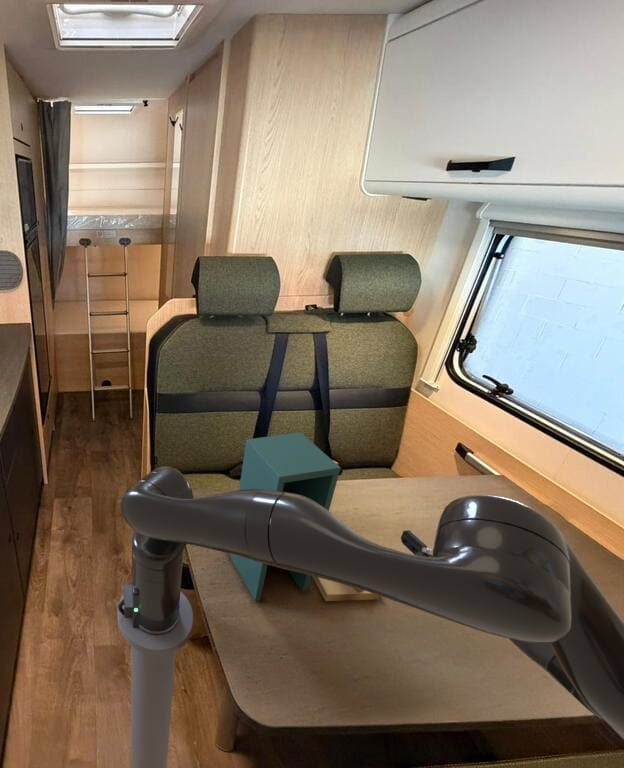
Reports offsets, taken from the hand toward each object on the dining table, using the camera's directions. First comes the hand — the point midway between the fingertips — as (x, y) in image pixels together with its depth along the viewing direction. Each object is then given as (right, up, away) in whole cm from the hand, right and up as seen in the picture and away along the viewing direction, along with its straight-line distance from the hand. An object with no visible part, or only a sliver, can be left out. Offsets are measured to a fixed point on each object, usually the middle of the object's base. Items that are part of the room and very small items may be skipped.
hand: (426, 530), depth 69 cm
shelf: (-18, -18, +24) cm, 34 cm away
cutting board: (-3, -16, +26) cm, 31 cm away
